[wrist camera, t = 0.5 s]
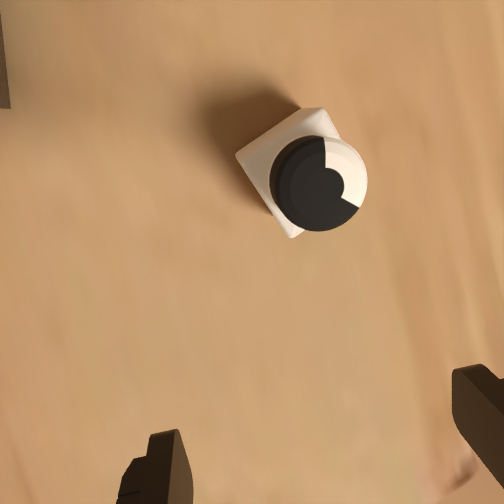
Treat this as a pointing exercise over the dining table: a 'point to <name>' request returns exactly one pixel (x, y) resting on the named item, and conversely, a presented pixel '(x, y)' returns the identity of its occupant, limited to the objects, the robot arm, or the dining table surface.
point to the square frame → (3, 76)
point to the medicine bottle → (306, 172)
